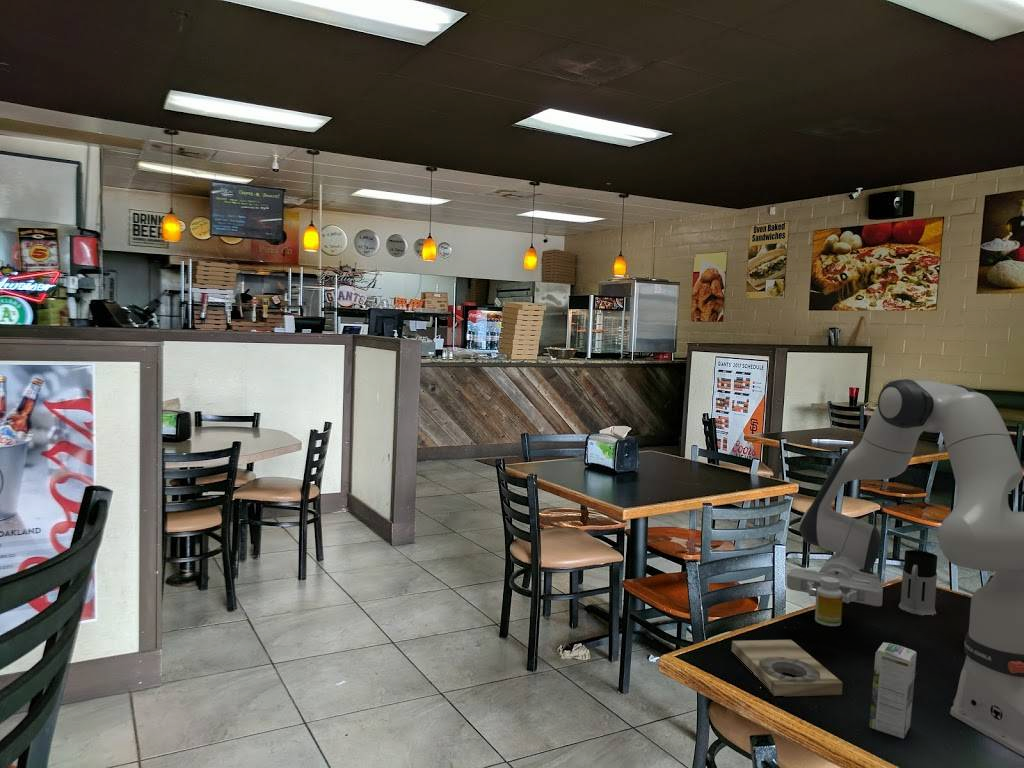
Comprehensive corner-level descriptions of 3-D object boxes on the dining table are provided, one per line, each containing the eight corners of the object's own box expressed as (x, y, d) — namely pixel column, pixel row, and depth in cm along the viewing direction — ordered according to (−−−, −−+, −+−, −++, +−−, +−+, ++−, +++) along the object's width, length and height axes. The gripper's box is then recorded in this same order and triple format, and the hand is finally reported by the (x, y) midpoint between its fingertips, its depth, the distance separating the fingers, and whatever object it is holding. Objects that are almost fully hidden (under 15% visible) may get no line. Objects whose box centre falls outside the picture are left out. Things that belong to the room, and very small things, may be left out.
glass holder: (938, 609, 188) (942, 554, 187) (929, 624, 177) (933, 566, 176) (902, 600, 194) (905, 547, 193) (890, 615, 183) (894, 558, 182)
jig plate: (841, 694, 140) (842, 682, 139) (774, 696, 138) (775, 684, 138) (790, 650, 159) (791, 639, 159) (731, 651, 158) (732, 640, 158)
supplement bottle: (845, 627, 155) (847, 583, 154) (820, 626, 155) (822, 582, 154) (834, 618, 160) (836, 575, 160) (810, 617, 160) (812, 575, 160)
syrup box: (876, 715, 132) (881, 640, 131) (911, 727, 128) (917, 649, 127) (868, 728, 128) (873, 650, 127) (905, 740, 124) (910, 660, 123)
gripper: (793, 559, 173) (780, 572, 162) (886, 575, 162) (880, 591, 151) (791, 584, 174) (779, 600, 162) (885, 602, 163) (878, 620, 151)
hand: (828, 596), depth 156 cm, fingers closed on supplement bottle, 5 cm apart
